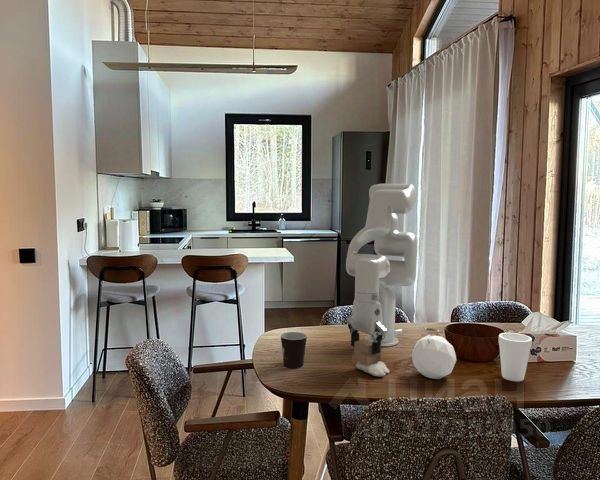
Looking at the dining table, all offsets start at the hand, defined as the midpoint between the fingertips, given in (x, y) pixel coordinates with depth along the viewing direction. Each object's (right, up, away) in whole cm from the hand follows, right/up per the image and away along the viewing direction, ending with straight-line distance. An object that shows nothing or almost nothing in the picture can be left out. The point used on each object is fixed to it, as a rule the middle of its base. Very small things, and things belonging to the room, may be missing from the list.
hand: (365, 349), depth 160 cm
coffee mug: (-23, -6, +6) cm, 25 cm away
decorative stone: (+2, -8, +1) cm, 8 cm away
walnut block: (+1, -4, +1) cm, 4 cm away
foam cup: (+46, -8, -4) cm, 47 cm away
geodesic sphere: (+21, -8, -4) cm, 22 cm away
